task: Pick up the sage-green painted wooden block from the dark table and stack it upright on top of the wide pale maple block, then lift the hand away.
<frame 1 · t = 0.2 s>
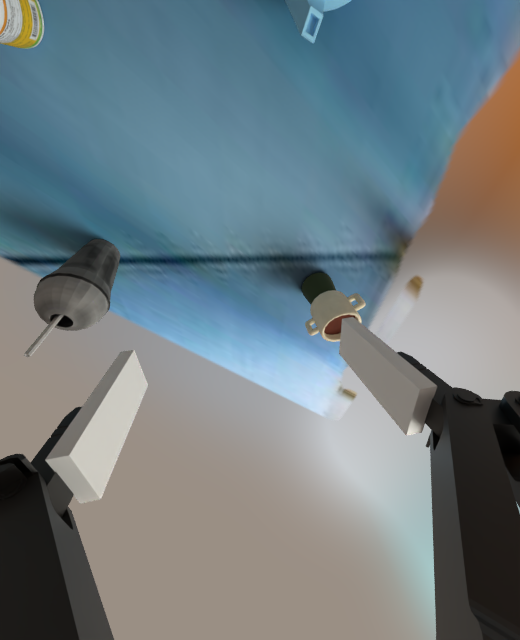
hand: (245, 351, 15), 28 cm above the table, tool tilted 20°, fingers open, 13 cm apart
supplement bottle: (7, 2, 20), on the table
beverage cup: (104, 252, 36), on the table
character mug: (314, 283, 48), on the table
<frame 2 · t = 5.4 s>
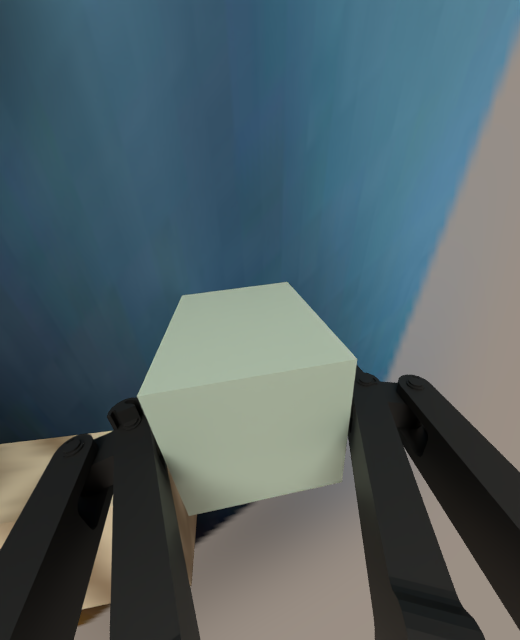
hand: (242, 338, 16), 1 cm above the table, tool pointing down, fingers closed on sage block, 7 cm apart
maple block: (113, 481, 22), on the table
sage block: (242, 334, 17), on the table, touching gripper
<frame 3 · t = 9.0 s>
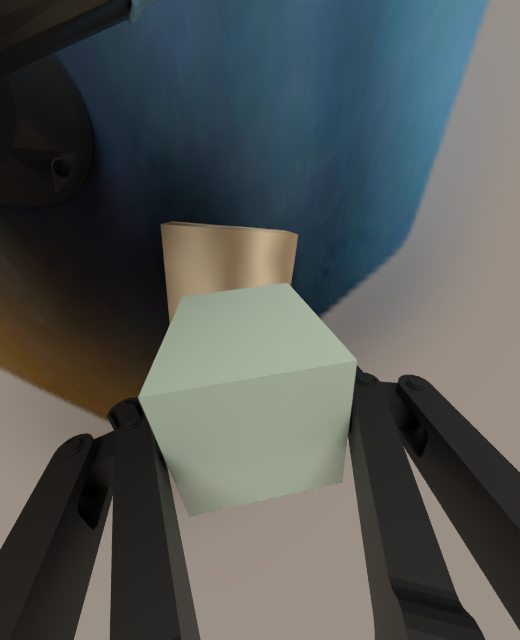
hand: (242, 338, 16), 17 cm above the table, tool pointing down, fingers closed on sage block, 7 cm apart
maple block: (229, 280, 32), on the table
sage block: (242, 334, 17), point 16 cm above the table, touching gripper
when the fingers open (8 cm above the table, at t = 12.7 s): sage block drops 1 cm, resting on maple block.
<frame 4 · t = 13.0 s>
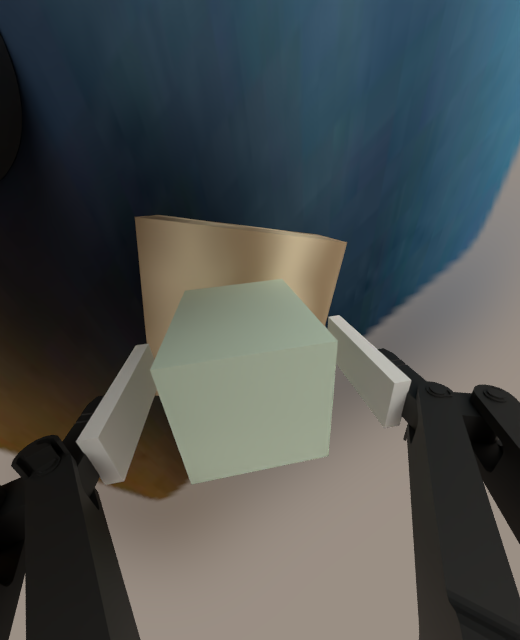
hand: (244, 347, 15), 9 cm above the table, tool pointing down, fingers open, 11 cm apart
maple block: (236, 299, 23), on the table, touching sage block
sage block: (240, 327, 18), point 6 cm above the table, touching maple block
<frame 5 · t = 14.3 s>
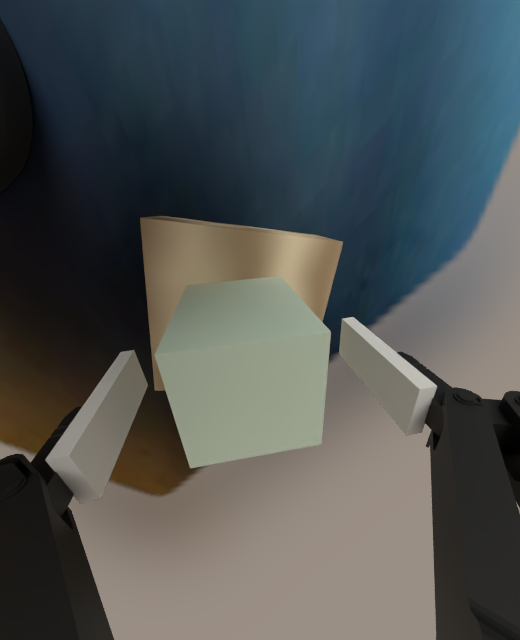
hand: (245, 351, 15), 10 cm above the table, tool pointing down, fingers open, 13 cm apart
maple block: (236, 297, 24), on the table
sage block: (239, 322, 19), point 6 cm above the table
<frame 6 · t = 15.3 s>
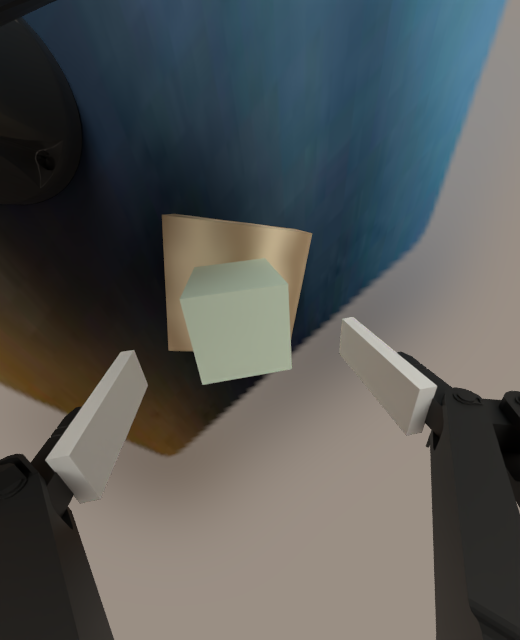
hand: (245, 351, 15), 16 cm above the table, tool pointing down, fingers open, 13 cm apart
maple block: (233, 280, 30), on the table, touching sage block
sage block: (235, 295, 24), point 6 cm above the table, touching maple block
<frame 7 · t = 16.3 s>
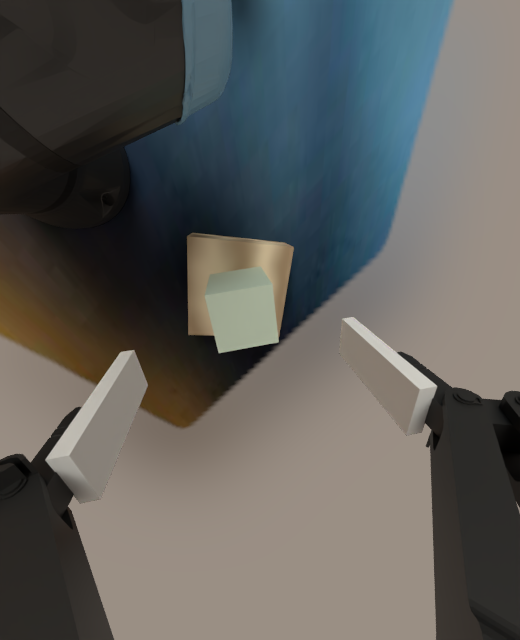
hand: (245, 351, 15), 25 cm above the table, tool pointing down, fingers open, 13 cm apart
maple block: (236, 281, 38), on the table, touching sage block
sage block: (239, 294, 33), point 6 cm above the table, touching maple block
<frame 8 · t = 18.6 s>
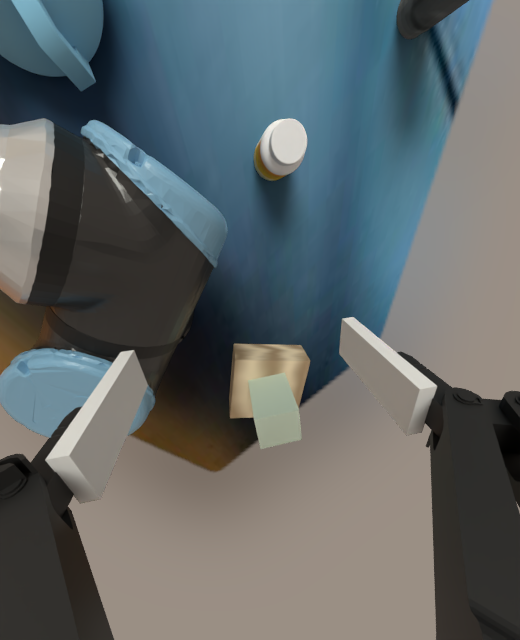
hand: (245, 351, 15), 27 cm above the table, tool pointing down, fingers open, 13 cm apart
supplement bottle: (271, 159, 33), on the table
maple block: (263, 371, 50), on the table, touching sage block
beverage cup: (412, 14, 29), on the table
sage block: (268, 390, 45), point 6 cm above the table, touching maple block
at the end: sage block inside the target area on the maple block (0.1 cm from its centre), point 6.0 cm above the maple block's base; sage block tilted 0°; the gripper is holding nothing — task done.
